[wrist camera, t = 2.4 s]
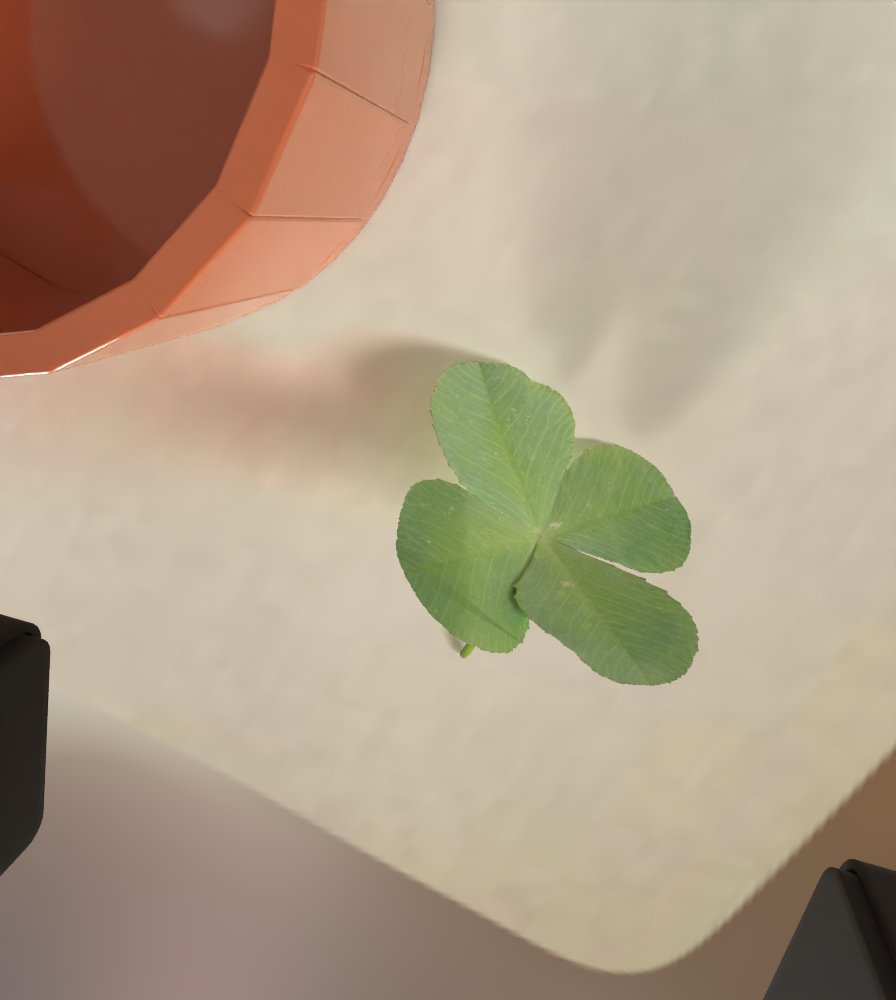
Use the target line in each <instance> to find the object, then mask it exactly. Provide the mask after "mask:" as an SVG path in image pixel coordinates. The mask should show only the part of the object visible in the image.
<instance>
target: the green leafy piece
mask: <svg viewBox="0 0 896 1000" xmlns="http://www.w3.org/2000/svg"><path fill="white" fill-rule="evenodd" d="M435 388H436V389H435V390H434V394H433V396H432V397H431V410H430V412H431V416H432V419H433V424H432V425H433V427H434V430H435V432H436V435H437V438H438V442H439V445H440V446H441V448H442V449H443V452H444V455H445V457H446V459H447V461H448V465H449V467H450V468H451V469H452V470H453V471H454V473H455V475H457V476H458V478H459V483H460V484H462V485H464V486H466V488H467V489H469V490H470V491H471V492H472V493H473V494H472V493H470V492H469V491H468V490H465V489H462V488H461V487H460V486H458V485H457V484H451V483H449V482H446V481H444V480H440V479H436V480H423V481H421V482H419V483H416V484H414V485H413V487H411V489H410V490H409V491H408V493H407V495H406V496H405V500H404V504H403V508H402V509H401V512H400V518H399V520H400V521H399V522H398V524H399V525H398V529H397V537H398V539H397V540H396V550H397V556H398V558H399V561H400V564H401V567H402V569H403V570H404V573H405V576H406V578H407V580H408V581H409V583H410V584H411V587H412V588H413V591H414V592H415V593H416V596H417V597H418V599H419V600H420V602H421V603H422V604H423V606H425V607H426V609H427V610H428V612H429V613H430V614H431V615H432V617H434V619H436V620H437V621H438V622H440V623H441V624H442V625H443V626H444V627H445V628H446V629H447V630H448V631H449V632H450V633H451V634H453V635H454V636H456V637H458V638H459V639H460V640H462V641H463V642H465V643H467V644H466V645H465V647H464V648H463V650H462V651H461V653H460V656H461V657H462V658H466V657H468V655H469V654H470V653H471V651H472V650H473V648H474V647H475V646H476V647H479V648H480V650H484V651H489V652H491V653H494V652H497V653H504V652H506V653H508V652H510V651H512V650H513V648H516V647H517V645H518V644H519V643H522V642H523V639H524V637H525V632H526V631H527V629H529V619H530V620H532V621H534V622H535V623H536V624H537V625H538V626H539V627H541V628H542V630H544V631H545V632H546V633H548V634H551V635H552V636H554V637H556V638H557V639H558V640H559V641H560V642H561V643H562V644H563V645H564V646H566V647H567V648H569V649H571V650H572V651H574V652H575V653H576V654H577V656H578V657H579V658H580V659H581V660H582V661H583V662H584V663H585V664H587V665H588V666H590V667H591V668H592V670H593V671H595V672H597V673H598V674H599V675H601V676H603V677H607V678H608V679H610V680H612V681H615V682H617V683H620V684H626V683H627V684H632V685H653V686H654V685H660V684H663V683H666V682H667V683H671V681H674V680H677V678H681V676H682V675H685V674H686V672H687V669H689V667H691V666H690V665H692V662H693V658H694V657H693V656H695V653H696V652H697V651H699V650H698V644H697V643H698V640H699V638H698V636H697V635H696V634H697V633H698V631H697V628H696V624H695V623H694V622H693V620H692V616H690V614H689V613H688V612H687V610H685V609H684V608H683V607H682V606H681V603H679V602H678V601H676V600H674V599H673V598H672V597H671V596H669V595H668V594H667V591H665V590H662V589H660V588H659V587H656V586H654V585H651V584H649V583H647V582H646V581H645V580H646V579H645V578H642V577H638V576H636V575H634V574H631V573H628V572H626V571H623V570H621V569H619V568H617V567H615V566H614V565H611V564H608V563H606V562H603V561H600V560H598V559H596V558H593V557H591V556H588V555H586V554H583V553H581V552H579V551H577V550H580V551H582V552H585V553H588V554H591V555H594V556H597V557H600V558H603V559H605V560H609V561H610V562H616V563H619V564H621V565H623V566H625V567H627V568H630V569H633V570H636V571H638V572H642V573H643V572H644V573H645V572H648V573H660V574H661V573H663V572H665V571H675V569H676V568H679V567H681V566H683V565H682V564H683V563H684V561H685V560H686V558H687V557H688V553H689V551H690V544H691V538H690V536H691V525H690V524H691V523H690V520H689V518H688V515H687V512H686V510H685V508H684V507H683V506H682V504H681V503H680V502H679V500H678V499H677V497H675V496H674V492H673V490H672V488H671V487H670V485H669V484H668V483H667V481H666V479H665V477H664V476H663V475H662V473H661V472H660V471H659V470H658V469H657V468H656V467H655V466H654V465H652V463H650V462H649V461H647V460H645V459H644V458H643V457H641V456H640V455H638V454H636V453H634V452H633V451H631V450H627V449H624V448H622V447H620V446H617V445H615V446H610V445H605V444H601V445H599V446H596V447H592V448H591V449H586V450H584V451H583V453H582V455H581V456H579V457H578V458H577V459H575V461H574V462H573V463H572V465H571V467H570V468H569V470H568V471H567V470H566V467H567V464H568V463H569V459H571V458H572V456H571V455H570V451H571V449H572V445H573V443H574V441H573V440H574V429H575V420H574V418H573V415H572V411H571V408H570V407H569V405H568V404H567V402H566V401H565V399H564V398H563V396H561V395H560V394H559V393H558V392H557V391H556V390H552V389H551V388H550V387H549V386H544V385H542V384H538V383H533V382H531V381H530V379H529V378H528V376H527V375H525V373H523V372H522V371H521V370H519V369H517V368H515V367H511V366H510V365H506V366H505V365H503V364H493V363H491V364H486V363H483V362H473V363H462V364H455V365H452V366H451V367H449V368H448V369H447V370H445V371H444V374H442V375H441V377H439V379H438V381H437V382H436V385H435ZM565 470H566V472H565ZM562 480H563V481H562ZM561 482H562V483H561ZM488 504H489V505H488ZM493 507H494V508H493ZM501 512H502V513H501ZM575 549H577V550H575Z"/></svg>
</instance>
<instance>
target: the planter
mask: <svg viewBox="0 0 896 1000" xmlns="http://www.w3.org/2000/svg"><path fill="white" fill-rule="evenodd" d="M433 34H434V0H0V378H5V377H16V376H27V375H38V374H50V373H53V372H57V371H61V370H64V369H68V368H72V367H75V366H79V365H82V364H86V363H90V362H93V361H97V360H100V359H104V358H108V357H111V356H115V355H118V354H122V353H126V352H129V351H133V350H137V349H140V348H144V347H147V346H151V345H155V344H158V343H162V342H165V341H169V340H173V339H176V338H180V337H183V336H187V335H191V334H194V333H198V332H202V331H205V330H209V329H212V328H216V327H219V326H222V325H224V324H226V323H228V322H230V321H232V320H234V319H236V318H238V317H242V316H245V315H247V314H250V313H252V312H254V311H257V310H259V309H261V308H264V307H266V306H268V305H271V304H273V303H275V302H277V301H279V300H280V299H282V298H284V297H285V296H287V295H288V294H290V293H292V292H293V291H295V290H296V289H298V288H300V287H301V286H303V285H305V284H306V283H307V282H309V281H310V280H311V279H312V278H313V277H315V276H316V275H317V274H318V273H319V272H321V271H322V270H323V269H324V268H325V267H327V266H328V265H329V264H330V263H331V262H333V261H334V260H335V259H336V258H337V257H338V256H339V255H340V253H341V252H342V251H343V250H344V249H345V248H346V247H347V246H348V245H349V243H350V242H351V241H352V240H353V239H354V238H355V237H356V236H357V235H358V234H359V232H360V231H361V230H362V229H363V227H364V226H365V224H366V223H367V221H368V220H369V218H370V217H371V215H372V214H373V213H374V211H375V210H376V208H377V207H378V205H379V204H380V202H381V201H382V199H383V198H384V196H385V194H386V192H387V190H388V188H389V186H390V184H391V183H392V181H393V179H394V177H395V175H396V173H397V171H398V169H399V167H400V165H401V163H402V161H403V159H404V156H405V153H406V151H407V148H408V145H409V142H410V140H411V137H412V134H413V131H414V129H415V126H416V123H417V120H418V117H419V113H420V109H421V105H422V100H423V96H424V92H425V88H426V83H427V79H428V75H429V68H430V59H431V51H432V42H433Z"/></svg>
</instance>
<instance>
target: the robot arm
mask: <svg viewBox="0 0 896 1000" xmlns="http://www.w3.org/2000/svg"><path fill="white" fill-rule="evenodd" d="M49 669H50V646H49V644H48V642H47V641H45V640H44V639H41V632H40V630H39V628H38V627H37V626H36V625H34V624H33V623H29V622H26V621H22V620H19V619H15V618H12V617H8V616H5V615H1V614H0V876H1V875H2V874H3V873H4V871H5V870H6V869H7V868H8V867H9V866H10V865H11V864H12V863H13V862H14V861H15V860H16V859H17V858H18V856H19V855H20V854H21V853H22V852H23V851H24V850H25V849H26V848H27V847H28V845H29V844H30V843H31V842H32V840H33V839H34V837H35V835H36V834H37V832H38V829H39V827H40V825H41V821H42V818H43V809H44V787H45V763H46V738H47V716H48V692H49ZM763 1000H896V871H893V870H890V869H886V868H883V867H879V866H876V865H873V864H869V863H865V862H862V861H858V860H855V859H848V860H847V861H846V862H844V863H843V864H842V866H841V867H840V869H837V868H834V867H829V868H828V869H826V870H825V871H824V873H823V874H822V876H821V878H820V880H819V882H818V884H817V886H816V889H815V891H814V893H813V895H812V897H811V899H810V901H809V903H808V906H807V908H806V910H805V912H804V914H803V916H802V918H801V920H800V923H799V924H798V927H797V929H796V931H795V933H794V935H793V937H792V939H791V942H790V944H789V946H788V948H787V950H786V952H785V954H784V956H783V958H782V961H781V963H780V965H779V967H778V969H777V971H776V973H775V975H774V978H773V980H772V982H771V984H770V986H769V988H768V990H767V992H766V994H765V997H764V999H763Z"/></svg>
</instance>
